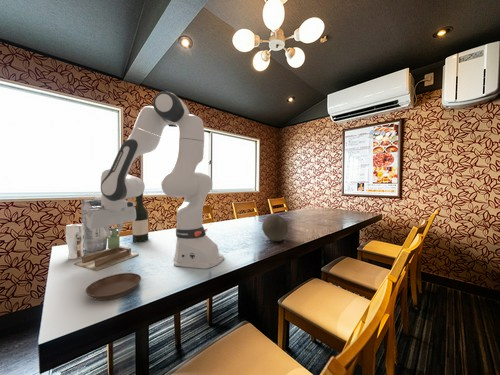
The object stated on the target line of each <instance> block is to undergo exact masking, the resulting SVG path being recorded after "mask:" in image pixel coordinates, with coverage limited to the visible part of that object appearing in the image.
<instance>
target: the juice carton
mask: <svg viewBox="0 0 500 375" xmlns="http://www.w3.org/2000/svg"><path fill="white" fill-rule="evenodd" d="M97 206H101V197H99V196H96V197H94V199H83V200H81V211H80V212H81V224H85V242H84V251H87V252H88V253H93V252H94V253H95V252H99V251H103V250H107V247H108V236H107V232H106V231H105V230H104V227H102V228H97V229H89V228H88V227H87V218H88V216H87V211H88V209H90V208H91V207H97ZM90 210H92V209H90ZM102 249H103V250H102Z"/></svg>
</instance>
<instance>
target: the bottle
mask: <svg viewBox="0 0 500 375" xmlns="http://www.w3.org/2000/svg"><path fill="white" fill-rule="evenodd" d="M117 228H118V227H110V228H109V230H110V231H112V235H110V236H107V249H115V248H118V247H120V246H121V245H120V243H121V242H120V241H121V240H120V235H119V234H117Z"/></svg>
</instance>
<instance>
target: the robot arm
mask: <svg viewBox="0 0 500 375" xmlns="http://www.w3.org/2000/svg"><path fill="white" fill-rule="evenodd" d="M167 126H168V127H169V128H170V127H173V128H174V127H175V128H177V129H178V135H177V136H178V137H177V139H178V140H177V150H176V151H177V152H176V158H175V162H174V163H173V166H172V168H171V169H170V170H169V171H168V172H167V173H165V175H164V176H163V177H162V180H161V190H162V192H163V193H164V194H165V196H167V197H171V198H184V199H183V202H182V204H181V205H180V206H179V208H177V209H176V227H175V236H176V243H175V252H174V253H175V254H174V256H173V266H176V267H183V268H184V267H186V268H194V269H202V270H203V269H204V270H205V269H207V270H208V269H210V268H212V267H215V266H217V265H220V263H221V262H223V260H224V259H225V255H224V254H221V253H220V251H219V247H218V245H217V243H215V241H213V240H212V239H211V238H210V237H208V235H206V234H207V233H206V232H207V231H208V228H206V229H205V227H204V225H203V210H204V206H205V205H204V204H205V201H206V198H207V197H208V194H209V193H210V192H211V190H212V189H213V180H212V178H211V176H210V175H208V174H205V173H202V172H195V171H196V168H197V166H198V165H199V164H200V163H201V162H202V161H203V160H204V153H205V152H204V151H205V150H204V148H205V128H204V122H203V119H202V118H201V117H200V116H198V115H195V114H192V113H191V110H190V109H189V107H188V106H187V105H186V104H185V102H184V101H182V99H181V98H180V97H178V96H177V95H176V94H174V93H173V92H170V91H167V90H166V91H159V92H158V93H157V94H156V95H155V96H154V98H153V100H152V105H146V106H143V107H142V108H141V110H140V112H139V113H138V116H137V118H136V120H135V122H134V126H133V128H132V130H131V132H130V135H129V136H128V138H127V139H126V140H125V141H124V142H123V143H122V145H121V146H120V148H119V150H118V152H117V154H116V156H115V159H114V161H113V163H112V164H111V167H110V168H109V169H105V170H103V171H102V173H101V176H100V192H101V206H97V207H91V208H90V209H92V210H90V209H88V211H87V216H88V218H87V227H88V228H89V229H97V228H102V227H104V230H105V231H106V232H107V237H109V236H110V235H112V231H110V228H111V226H115V225H116V226H117V227H116V228H117V235H119V234H121V233H122V228H123V227H124V224H125V223H132V221H135V220H136V209H135V208H136V203H135V202H134V201H129V200H126V199H131V198H136V197H137V196H140V195H141V194H142V193H143V194H144V191H145V189H146V188H145V182H144V181H143V180H142V178H140V177H137V176H135V175H131V174H129V172H130V169H131V167H132V165H133V164H134V163H133V162H135V160H136V159H137V158H138V157H140V156H142V155H144V154H148V153H152V152H153V151H154V150H156V148H157V147H158V145H159V143H160V141H161V137H162V134H163V130H164V128H165V127H167Z"/></svg>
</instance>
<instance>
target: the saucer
mask: <svg viewBox="0 0 500 375" xmlns="http://www.w3.org/2000/svg"><path fill="white" fill-rule="evenodd" d="M141 280H142V277H141V275H140V274H137V273H133V272H124V273H118V274H117V273H116V274H112V275H109V276H105V277H103V278H100V279H98V280H95V281H93V282H92V283H90V284H89V285H88V286H87V287H86V289H85V294H86V295H87V296H89V297H90V298H92V299H94V300H98V301H109V300H114V299H118V298H120V297H121V298H122V297H124V296H125V295H126V296H127V294H129V293H131V292H132V291H133V290H135V289H136V287H137V286H139V284H140V282H141Z"/></svg>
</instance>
